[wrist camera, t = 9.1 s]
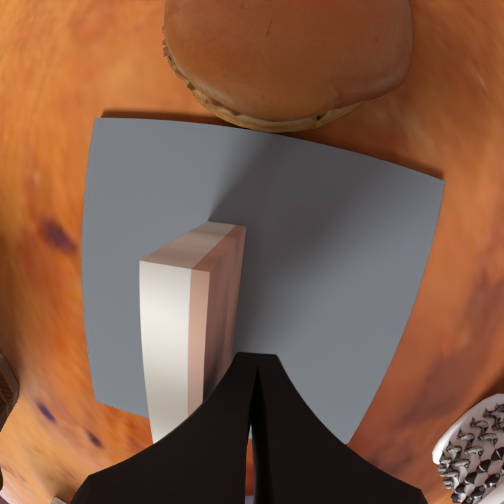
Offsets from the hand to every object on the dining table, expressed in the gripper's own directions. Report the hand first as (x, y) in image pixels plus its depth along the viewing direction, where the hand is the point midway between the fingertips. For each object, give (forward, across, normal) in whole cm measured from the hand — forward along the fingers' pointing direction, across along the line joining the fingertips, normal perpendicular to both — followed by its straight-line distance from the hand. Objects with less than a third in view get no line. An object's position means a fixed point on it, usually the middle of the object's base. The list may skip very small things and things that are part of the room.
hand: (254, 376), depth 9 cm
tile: (+4, +2, 0) cm, 4 cm away
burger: (+5, 0, -13) cm, 14 cm away
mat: (+4, +1, 0) cm, 4 cm away
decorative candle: (+4, -19, +11) cm, 23 cm away
